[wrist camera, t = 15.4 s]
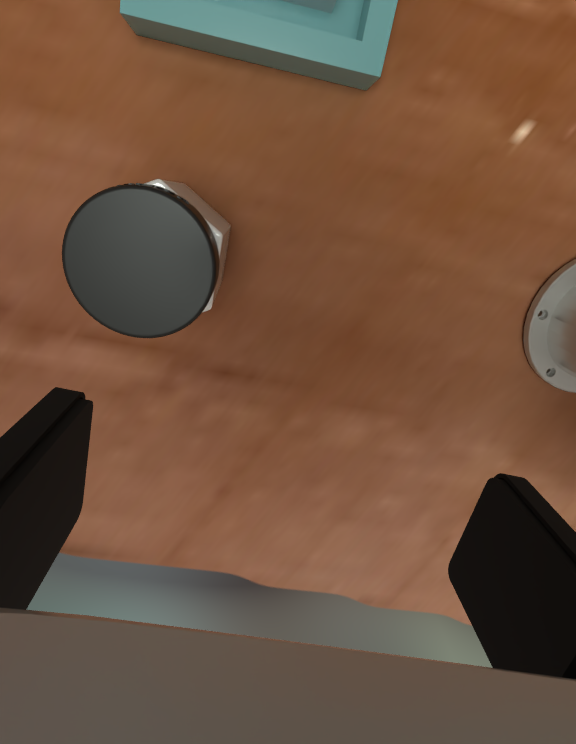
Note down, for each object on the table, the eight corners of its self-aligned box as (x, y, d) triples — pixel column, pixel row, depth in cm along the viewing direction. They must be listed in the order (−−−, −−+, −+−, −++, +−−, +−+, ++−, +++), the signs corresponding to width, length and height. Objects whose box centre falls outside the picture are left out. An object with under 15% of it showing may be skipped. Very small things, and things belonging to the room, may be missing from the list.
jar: (211, 169, 34) (188, 157, 23) (248, 275, 37) (245, 310, 26) (98, 209, 34) (22, 216, 23) (144, 310, 37) (96, 360, 26)
